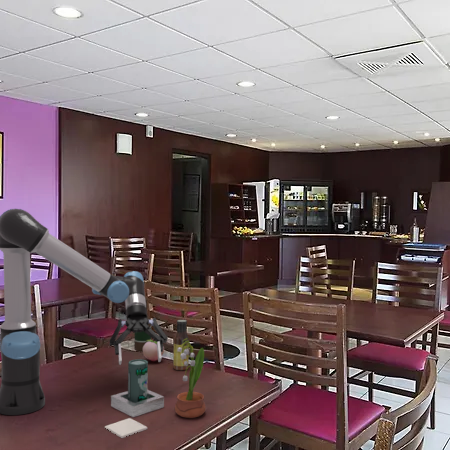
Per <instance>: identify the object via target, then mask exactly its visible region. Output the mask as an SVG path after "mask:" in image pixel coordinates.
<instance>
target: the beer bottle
mask: <svg viewBox="0 0 450 450" xmlns="http://www.w3.org/2000/svg"><path fill="white" fill-rule="evenodd" d="M145 301H146V311H147V318H148V320H151V318H150V317H149V315H148V298H147V297H145ZM148 326H149V327H150V328H151V329H152V326H151V324H148ZM133 338H134V340H133V341H134V344H133V345H134V351H136V352H139V353H143V346H144V345H145V344H146V343H147V342H148V341H147V340H152V338H151V337H150V336H149V335H148V334H147V333H145V332H144V331H142V332H136V333H134V337H133ZM146 341H147V342H146Z"/></svg>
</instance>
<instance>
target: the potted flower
mask: <svg viewBox="0 0 450 450" xmlns="http://www.w3.org/2000/svg"><path fill="white" fill-rule="evenodd" d="M188 338H189V337H188ZM188 338H186V339H187V340H188ZM186 339H184V340H186ZM184 340H183V341H184ZM187 342H188V344H189V345H188V344H187V346H186V347H185V348H187V347H189V349H185V348H184V345H185V343H187ZM182 345H183V347H182V348H180V347H181V346H182ZM182 345H181V346H180V347H179V348H178V350H177V351H179V352H181V350H182V354H181V359H182V360H184V359H187V358H186V355H187V354H189V356H187V357H189V359H190V364H189V361H188V362H187V361H185V362H184V365H185V366H186V365H187V366H188V367H187V369H186V370H185V373H184V375H183V376H182V381H183V382H188V391H184V392H181V393H179V394H177V396H176V398H177V399H176V403H175V406H174V411H175V413H176V415H178V416H180V417H183V418H187V419H194V418H198V417H200V416H202V415H203V414H204V413H205V412H206V410H207V407H206V402H205V401H204V399H205V395H204V394H203V393H201V392H197V391H194V389H195V387H196V385H197V382H198V380H199V379H200V377H201V374H202V370H203V368H204V363H205V362H204V360H205V350H204V347H200V349H199V350H198V352H197V354H196V356H195V353H194V351H193V350H194V347H193V346H192V345H191V343H190V340H189V341H185V342H184V344H183V342H182ZM183 348H184V349H185V350H184V353H183ZM194 357H195V359H194ZM189 368H190V370H189V376H188V375H186V374H187V371H188V369H189Z"/></svg>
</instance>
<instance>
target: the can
mask: <svg viewBox="0 0 450 450" xmlns="http://www.w3.org/2000/svg"><path fill="white" fill-rule="evenodd" d="M148 366H149V360H145V359H140V358H139V359H137V358H136V359H132V360H129V362H128V365H127V367H128V369H127V370H128V371H127V372H128V373H127V374H128V375H127V376H128V377H127V379H128V380H127V382H128V383H127V391H128V400H129V401H131V402H133V403H137V402H140V401H143V400H146V399H147V390H148V376H149V375H148V374H149V373H148V369H149V367H148Z"/></svg>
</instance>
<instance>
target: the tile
mask: <svg viewBox="0 0 450 450" xmlns="http://www.w3.org/2000/svg"><path fill="white" fill-rule="evenodd" d="M105 428H106V429H105ZM104 429H105V430H107V429H108V430H109V431H108V430H107V431H108V432H110V431H111V432H110V433H112V434H113V435H115V434H116V435H115V436H117V437H119V438H121V439H125V438H126V436H127V437H129V435H130V436H132V435H135V434H137V432H138V433H140V432H143V431H146V430H148V426H146V425H145V424H142V423H140V422H139V421H136V420H134V419H133V418H132V417H128V418H125V419H122V420H119V421H117V422H114V423H109V424H108V425H105V426H104ZM134 433H135V434H134Z"/></svg>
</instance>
